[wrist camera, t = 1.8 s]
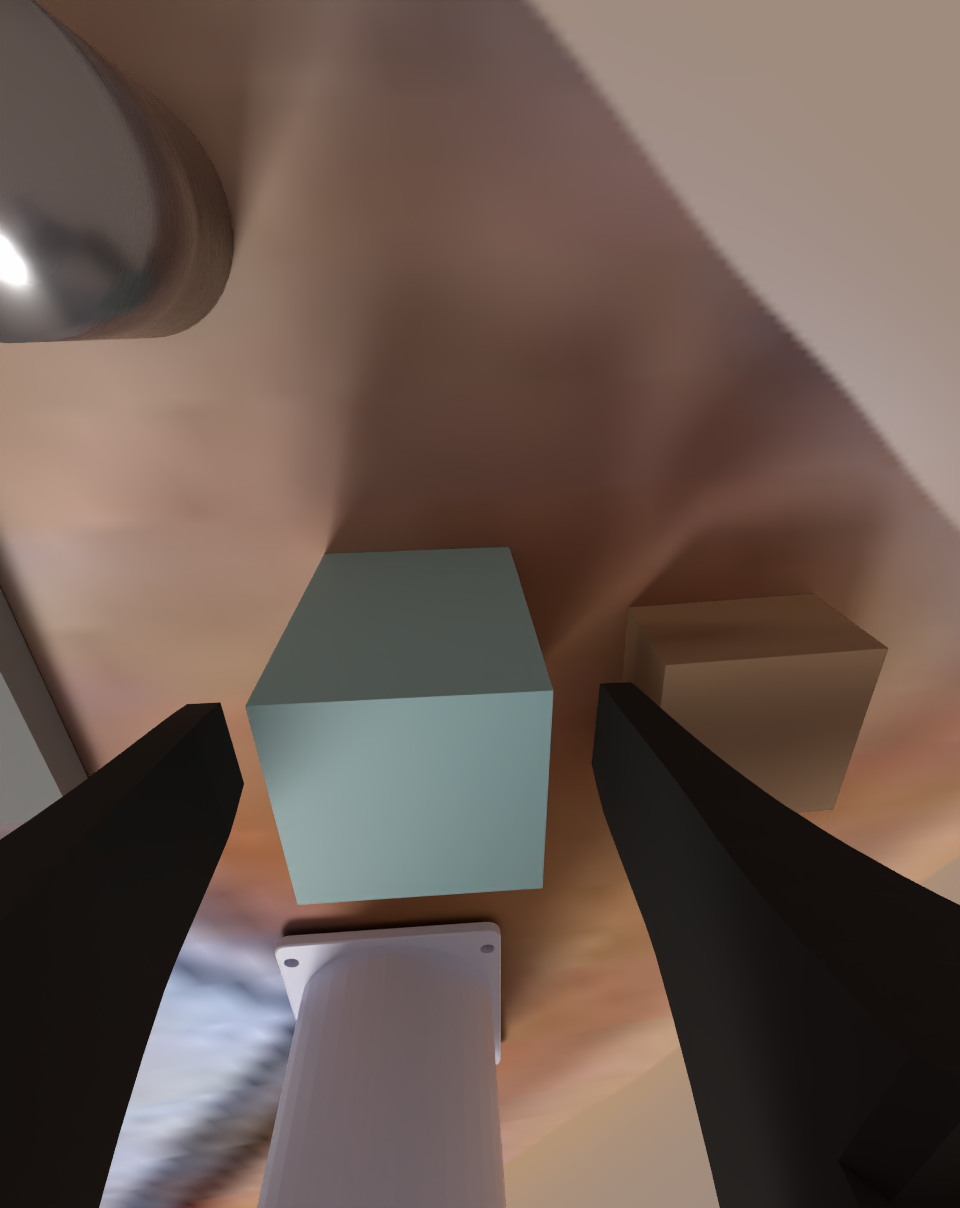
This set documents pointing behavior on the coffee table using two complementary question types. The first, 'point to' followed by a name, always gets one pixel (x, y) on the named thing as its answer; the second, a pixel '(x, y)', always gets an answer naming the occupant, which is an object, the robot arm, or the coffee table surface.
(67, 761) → the slate mat
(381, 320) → the coffee table surface
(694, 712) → the walnut slab
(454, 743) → the teal block
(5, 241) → the grey metal ball
